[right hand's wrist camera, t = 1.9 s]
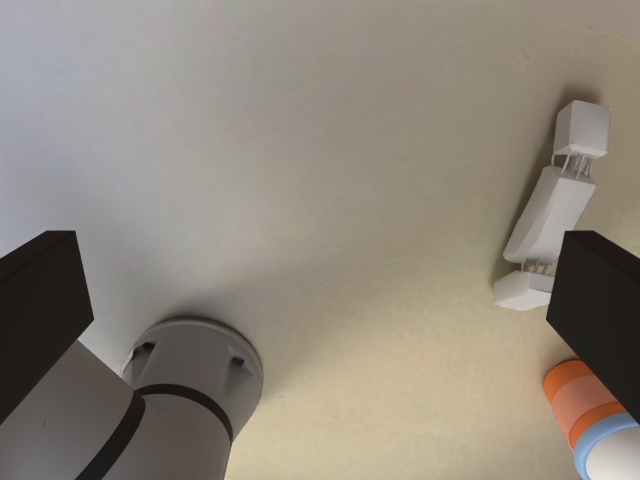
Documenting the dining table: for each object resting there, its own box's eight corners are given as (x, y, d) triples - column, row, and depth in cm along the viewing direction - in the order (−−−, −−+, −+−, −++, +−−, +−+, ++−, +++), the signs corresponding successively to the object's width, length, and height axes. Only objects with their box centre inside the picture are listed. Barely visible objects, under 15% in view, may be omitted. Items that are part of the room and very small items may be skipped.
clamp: (519, 304, 46) (553, 336, 40) (485, 297, 46) (513, 329, 40) (590, 108, 41) (643, 108, 34) (552, 99, 41) (598, 98, 34)
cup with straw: (617, 345, 49) (769, 493, 32) (605, 410, 52) (736, 575, 35) (533, 351, 49) (639, 500, 32) (526, 415, 53) (619, 580, 36)
